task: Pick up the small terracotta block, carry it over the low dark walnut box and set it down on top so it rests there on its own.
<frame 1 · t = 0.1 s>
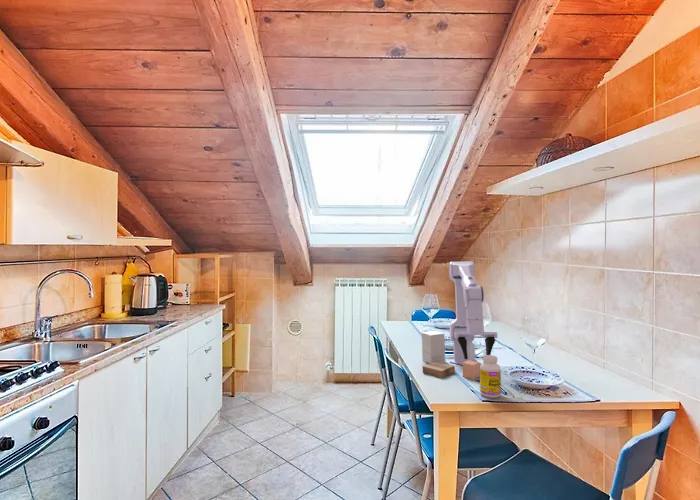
hand: (477, 359, 137), 10 cm above the table, tool pointing down, fingers open, 7 cm apart
terracotta block: (471, 376, 149), on the table
walnut box: (438, 373, 155), on the table
supplement box: (433, 361, 170), on the table
supplement bottle: (490, 395, 131), on the table
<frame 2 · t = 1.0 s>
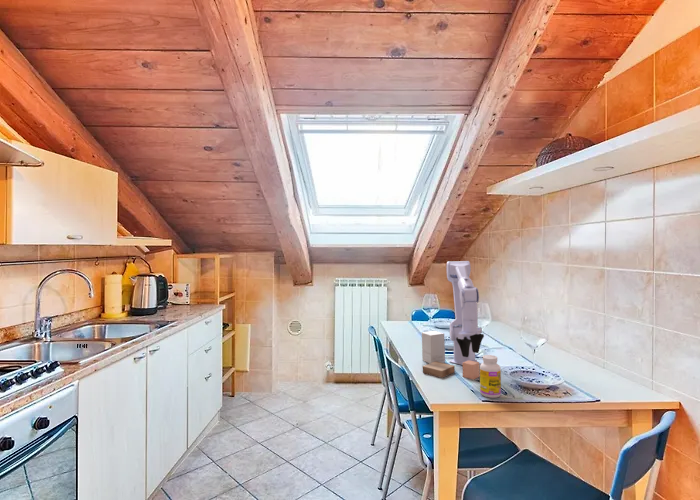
hand: (470, 354, 149), 9 cm above the table, tool pointing down, fingers open, 7 cm apart
nothing on the table moved.
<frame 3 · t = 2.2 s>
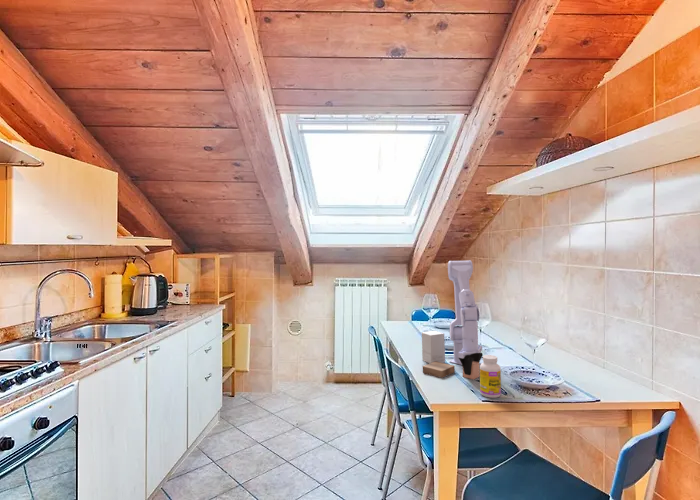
hand: (471, 372, 149), 1 cm above the table, tool pointing down, fingers closed on terracotta block, 4 cm apart
terracotta block: (471, 376, 149), on the table, touching gripper
everything else where it was.
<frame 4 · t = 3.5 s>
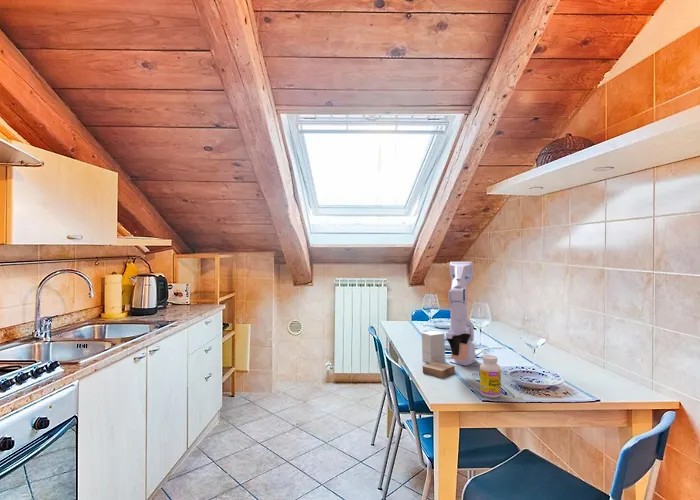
hand: (458, 353, 151), 8 cm above the table, tool pointing down, fingers closed on terracotta block, 4 cm apart
terracotta block: (459, 358, 151), point 7 cm above the table, touching gripper
everything else where it was.
when the fingers open (5 cm above the table, at t = 4.9 s): terracotta block drops 1 cm, point 2 cm above the table.
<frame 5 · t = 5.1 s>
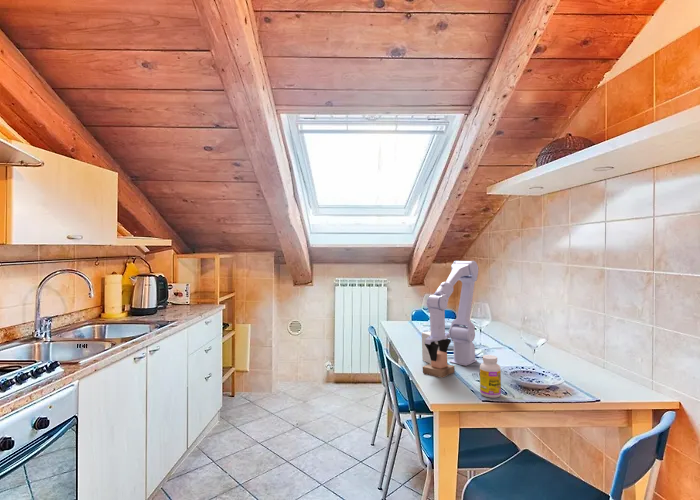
hand: (438, 358, 155), 5 cm above the table, tool pointing down, fingers open, 6 cm apart
terracotta block: (439, 366, 155), point 2 cm above the table
everything else where it was.
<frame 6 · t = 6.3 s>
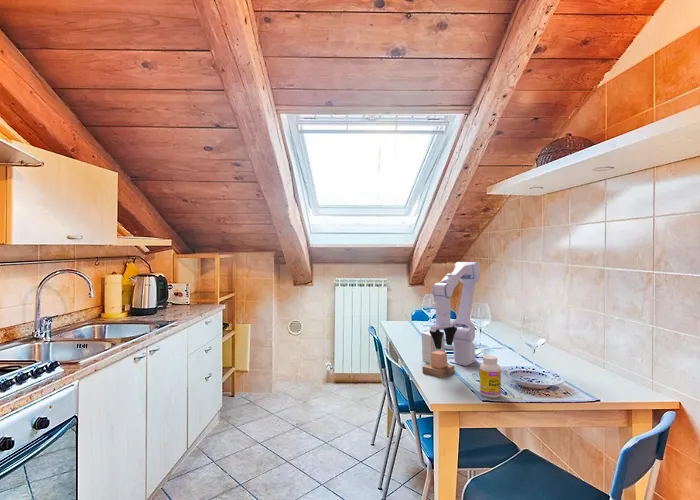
hand: (443, 346, 155), 10 cm above the table, tool pointing down, fingers open, 7 cm apart
terracotta block: (439, 366, 155), point 2 cm above the table, touching walnut box
walnut box: (438, 373, 155), on the table, touching terracotta block
everything else where it was.
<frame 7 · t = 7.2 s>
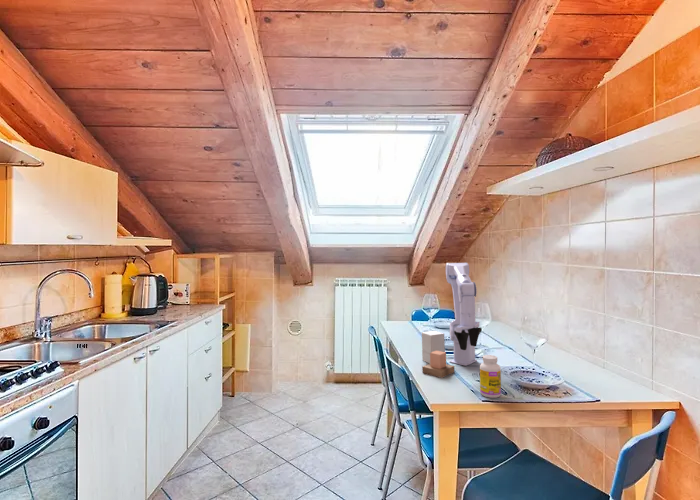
hand: (468, 347, 152), 10 cm above the table, tool pointing down, fingers open, 7 cm apart
nothing on the table moved.
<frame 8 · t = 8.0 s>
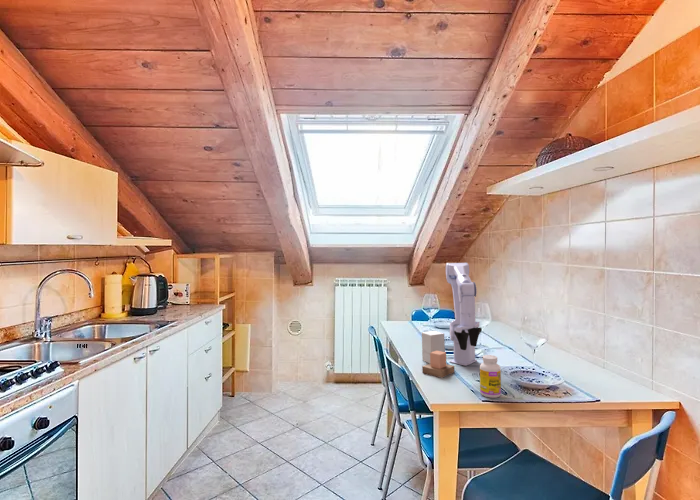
hand: (468, 347, 152), 10 cm above the table, tool pointing down, fingers open, 7 cm apart
nothing on the table moved.
at the end: terracotta block 0.1 cm off-centre on the walnut box, point 3.0 cm above the walnut box's base; terracotta block tilted 1°; the gripper is holding nothing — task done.
